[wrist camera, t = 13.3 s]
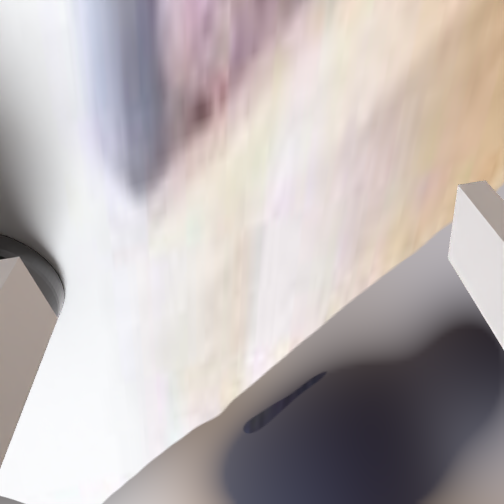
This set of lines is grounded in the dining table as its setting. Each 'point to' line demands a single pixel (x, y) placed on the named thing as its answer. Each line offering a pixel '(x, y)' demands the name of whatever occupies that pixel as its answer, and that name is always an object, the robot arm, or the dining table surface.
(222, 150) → the dining table surface
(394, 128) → the dining table surface
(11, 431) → the robot arm
